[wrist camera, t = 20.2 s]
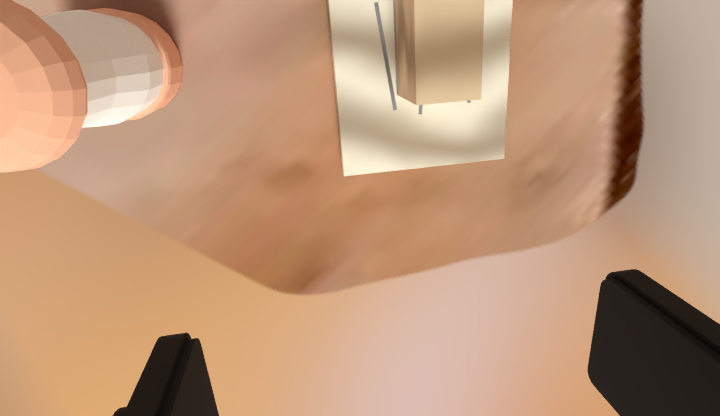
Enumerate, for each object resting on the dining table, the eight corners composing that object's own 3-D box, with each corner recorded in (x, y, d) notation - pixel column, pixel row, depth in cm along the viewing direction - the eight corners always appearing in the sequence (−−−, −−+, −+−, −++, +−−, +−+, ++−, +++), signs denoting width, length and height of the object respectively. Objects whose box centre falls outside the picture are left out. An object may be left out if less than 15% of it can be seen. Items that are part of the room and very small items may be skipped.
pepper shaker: (108, -13, 31) (-148, -84, 13) (201, 55, 33) (93, 74, 15) (59, 73, 32) (-231, 115, 14) (151, 132, 34) (0, 230, 17)
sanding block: (393, -3, 32) (413, -12, 26) (452, -7, 32) (484, -17, 27) (396, 94, 35) (416, 105, 29) (451, 89, 35) (481, 99, 29)
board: (317, -104, 30) (319, -111, 29) (509, -112, 32) (518, -119, 30) (342, 171, 38) (344, 176, 36) (496, 154, 39) (504, 158, 38)
